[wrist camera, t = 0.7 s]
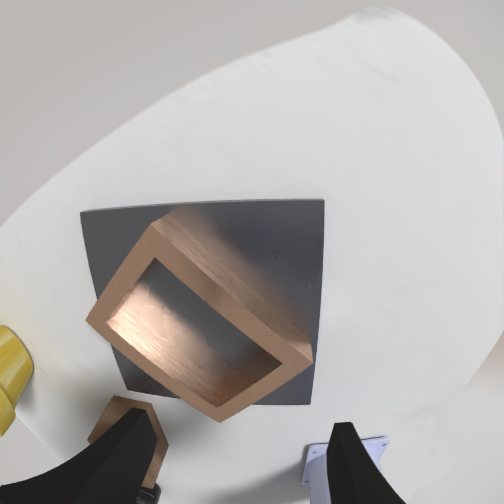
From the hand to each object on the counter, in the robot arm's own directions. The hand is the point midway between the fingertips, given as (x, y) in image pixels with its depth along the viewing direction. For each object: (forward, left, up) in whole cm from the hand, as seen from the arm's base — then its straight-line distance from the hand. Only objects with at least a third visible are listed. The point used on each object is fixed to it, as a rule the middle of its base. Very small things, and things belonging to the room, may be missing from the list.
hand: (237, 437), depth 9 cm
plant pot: (-7, +28, -10) cm, 30 cm away
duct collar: (0, +4, -9) cm, 10 cm away
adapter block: (-13, +12, -9) cm, 20 cm away
